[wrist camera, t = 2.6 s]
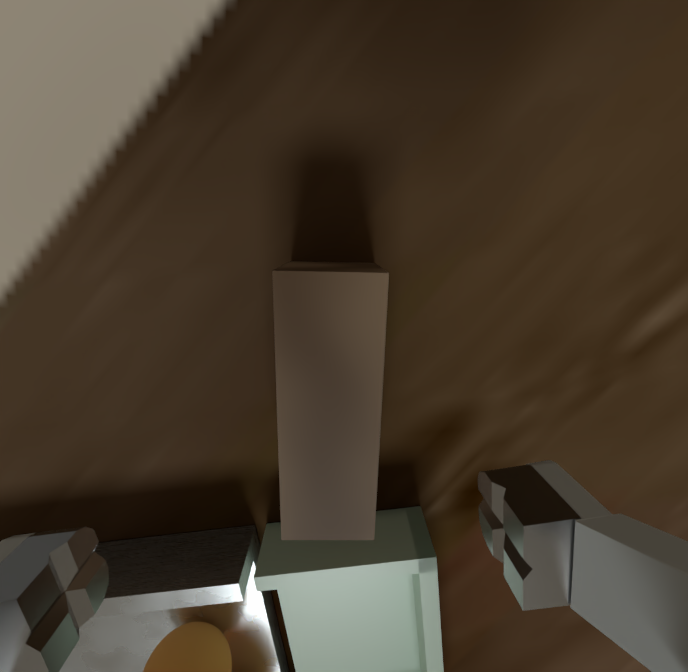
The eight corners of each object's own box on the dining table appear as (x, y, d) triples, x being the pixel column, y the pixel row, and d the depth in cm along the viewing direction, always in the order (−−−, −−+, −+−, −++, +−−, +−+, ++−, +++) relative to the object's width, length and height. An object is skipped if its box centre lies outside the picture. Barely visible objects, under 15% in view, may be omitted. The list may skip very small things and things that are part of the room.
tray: (420, 505, 18) (436, 557, 15) (434, 695, 22) (449, 765, 19) (266, 523, 18) (253, 577, 15) (307, 709, 22) (303, 780, 19)
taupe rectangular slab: (373, 262, 15) (389, 272, 11) (365, 465, 18) (374, 540, 13) (291, 260, 15) (272, 270, 11) (295, 465, 18) (281, 540, 13)
